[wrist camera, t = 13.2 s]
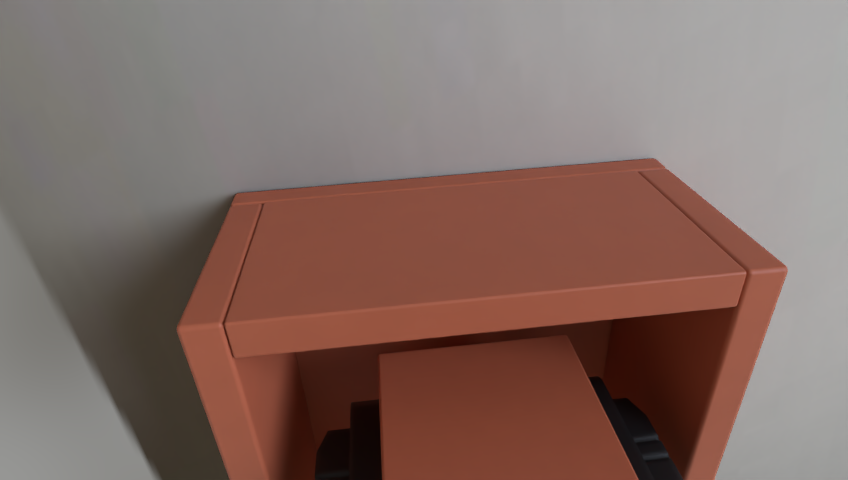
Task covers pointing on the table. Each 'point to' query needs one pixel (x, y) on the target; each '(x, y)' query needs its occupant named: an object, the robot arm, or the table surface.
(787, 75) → the table surface
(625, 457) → the terracotta block
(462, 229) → the terracotta bin
